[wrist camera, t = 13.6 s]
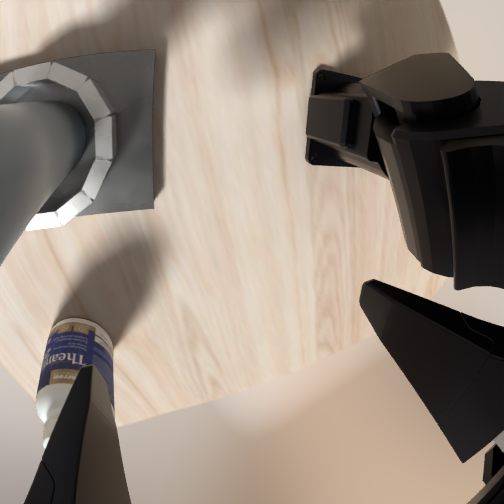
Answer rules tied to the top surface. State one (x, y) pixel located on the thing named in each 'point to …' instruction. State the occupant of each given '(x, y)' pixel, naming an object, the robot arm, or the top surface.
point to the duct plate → (96, 130)
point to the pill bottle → (71, 366)
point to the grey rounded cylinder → (34, 160)
